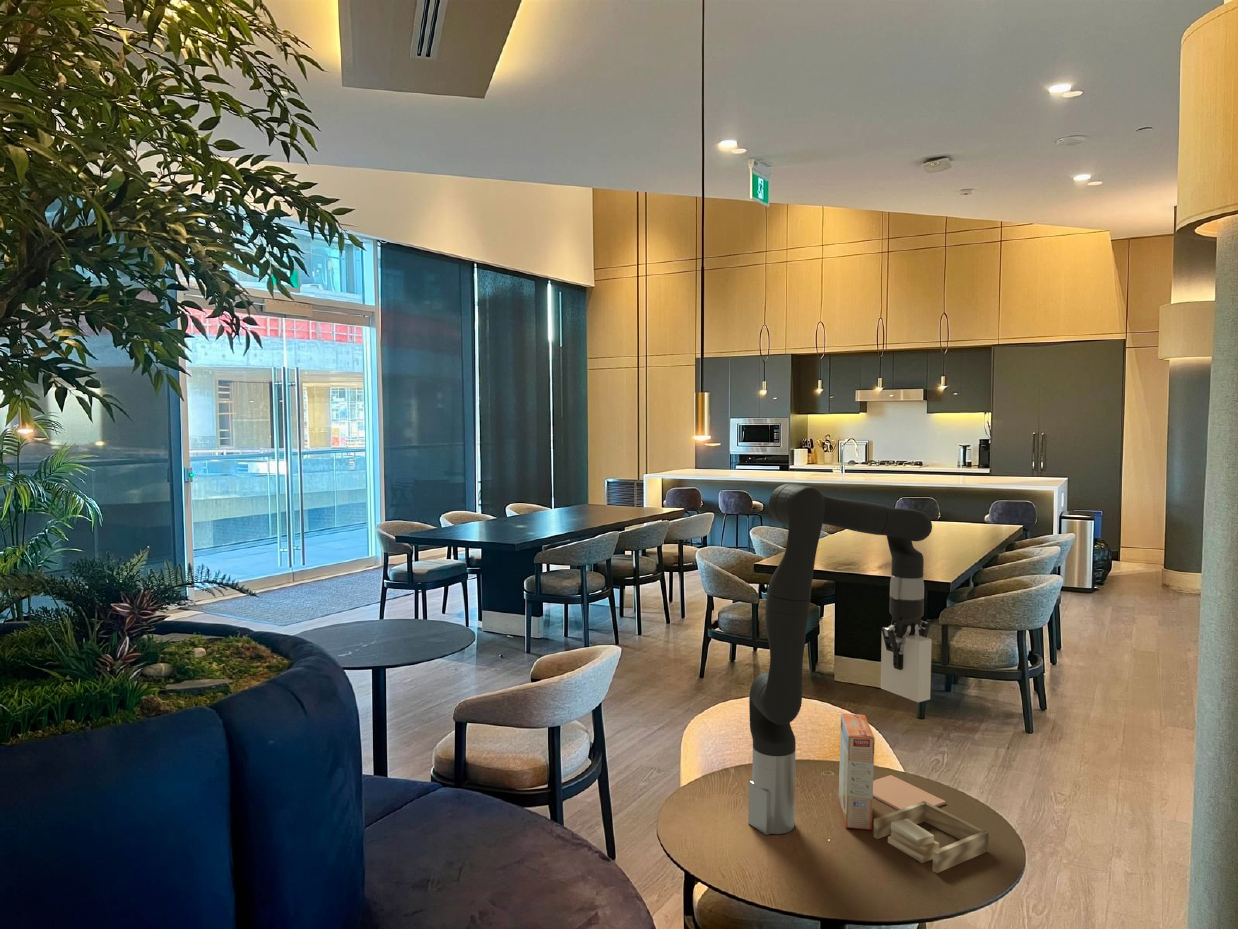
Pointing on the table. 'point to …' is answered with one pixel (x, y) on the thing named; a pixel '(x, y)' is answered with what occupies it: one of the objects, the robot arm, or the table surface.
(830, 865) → the table surface
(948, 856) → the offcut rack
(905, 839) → the offcut stack
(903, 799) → the terracotta tile
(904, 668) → the white block
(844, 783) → the cracker box
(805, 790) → the table surface
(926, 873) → the table surface
